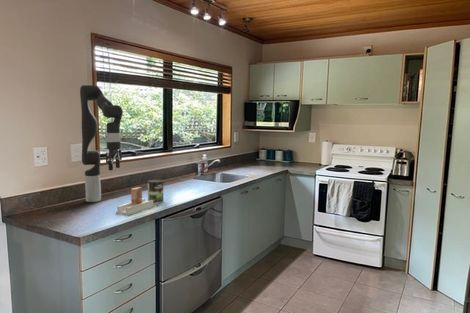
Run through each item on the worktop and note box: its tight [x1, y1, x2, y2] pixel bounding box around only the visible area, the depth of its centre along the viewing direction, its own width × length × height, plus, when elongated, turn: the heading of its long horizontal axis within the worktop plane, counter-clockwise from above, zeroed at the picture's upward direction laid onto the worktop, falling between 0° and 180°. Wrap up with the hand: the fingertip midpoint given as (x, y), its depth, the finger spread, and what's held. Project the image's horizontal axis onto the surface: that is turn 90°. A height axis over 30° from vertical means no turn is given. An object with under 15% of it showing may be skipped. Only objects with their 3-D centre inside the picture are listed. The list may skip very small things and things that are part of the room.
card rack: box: [115, 197, 156, 216], centre depth 208 cm, size 22×10×4 cm, turn 153°
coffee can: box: [147, 178, 164, 205], centre depth 226 cm, size 10×10×14 cm
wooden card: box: [130, 186, 143, 206], centre depth 208 cm, size 6×3×12 cm, turn 152°
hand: (114, 169), depth 196 cm, fingers open, 8 cm apart
